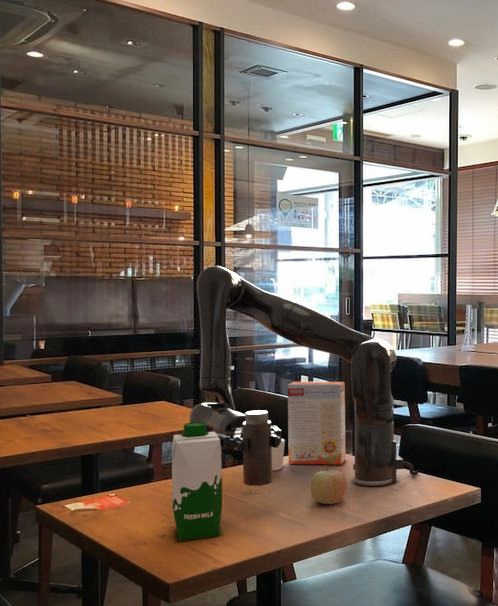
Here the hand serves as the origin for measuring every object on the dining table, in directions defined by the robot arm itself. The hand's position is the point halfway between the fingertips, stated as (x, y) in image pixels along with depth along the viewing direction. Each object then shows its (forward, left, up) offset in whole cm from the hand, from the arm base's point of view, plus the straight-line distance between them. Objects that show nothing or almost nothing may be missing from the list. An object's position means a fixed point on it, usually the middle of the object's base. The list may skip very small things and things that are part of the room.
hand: (261, 444), depth 139 cm
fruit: (-14, -6, -15) cm, 22 cm away
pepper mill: (+1, -2, -8) cm, 8 cm away
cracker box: (-17, -41, -15) cm, 47 cm away
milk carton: (+12, +4, -15) cm, 20 cm away
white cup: (-5, -39, -15) cm, 42 cm away
